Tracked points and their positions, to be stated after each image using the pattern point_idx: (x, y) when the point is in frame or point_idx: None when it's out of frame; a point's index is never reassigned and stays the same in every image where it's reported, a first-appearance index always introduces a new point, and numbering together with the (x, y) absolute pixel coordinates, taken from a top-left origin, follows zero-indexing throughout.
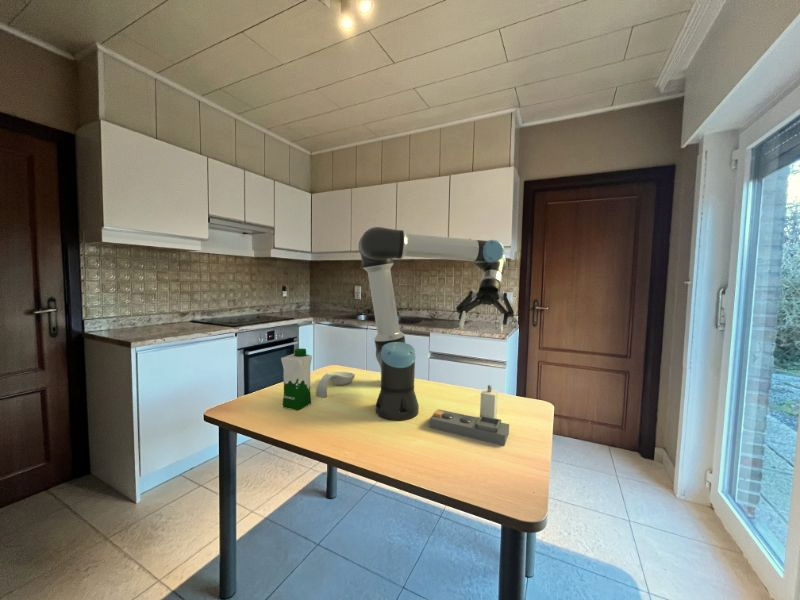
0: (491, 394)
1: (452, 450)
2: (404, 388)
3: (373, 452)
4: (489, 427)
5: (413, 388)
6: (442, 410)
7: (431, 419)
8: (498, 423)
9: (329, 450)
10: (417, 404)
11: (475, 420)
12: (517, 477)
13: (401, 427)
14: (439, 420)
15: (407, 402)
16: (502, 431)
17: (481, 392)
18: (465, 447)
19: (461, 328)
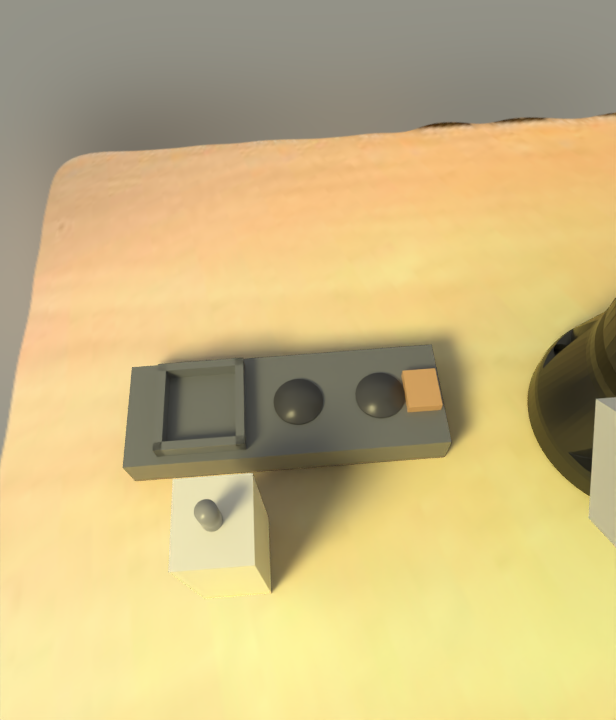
0: (193, 481)
1: (289, 279)
2: (611, 305)
3: (471, 175)
4: (188, 363)
5: (606, 377)
6: (428, 439)
7: (423, 346)
8: (159, 408)
9: (567, 134)
10: (558, 428)
11: (262, 424)
12: (97, 256)
13: (508, 314)
14: (389, 348)
15: (569, 347)
16: (144, 390)
17: (251, 480)
18: (259, 312)
19: (599, 484)
